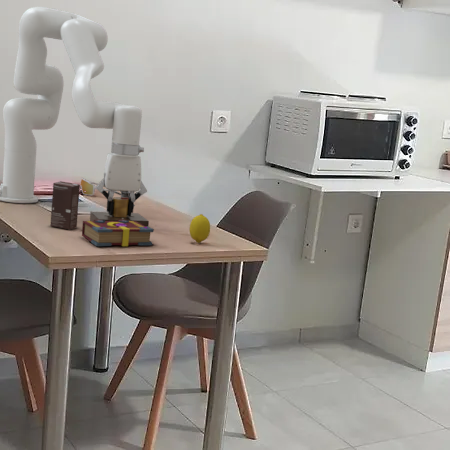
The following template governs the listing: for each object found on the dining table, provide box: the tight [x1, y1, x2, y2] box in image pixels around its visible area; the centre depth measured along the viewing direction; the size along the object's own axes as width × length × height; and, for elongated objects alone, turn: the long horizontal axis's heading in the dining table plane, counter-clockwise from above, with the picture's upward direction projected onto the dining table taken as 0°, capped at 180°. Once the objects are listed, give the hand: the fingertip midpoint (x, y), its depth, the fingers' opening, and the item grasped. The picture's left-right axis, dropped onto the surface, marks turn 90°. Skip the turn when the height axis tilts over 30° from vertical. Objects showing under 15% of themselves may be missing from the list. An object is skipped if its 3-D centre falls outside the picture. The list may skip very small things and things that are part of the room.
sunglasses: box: [79, 177, 121, 197], centre depth 264 cm, size 14×15×5 cm
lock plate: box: [89, 211, 150, 227], centre depth 211 cm, size 14×11×3 cm
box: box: [50, 181, 81, 230], centre depth 201 cm, size 6×4×12 cm
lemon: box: [188, 213, 211, 244], centre depth 200 cm, size 6×6×8 cm
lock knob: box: [112, 196, 129, 218], centre depth 210 cm, size 4×4×5 cm
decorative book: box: [81, 220, 154, 247], centre depth 192 cm, size 11×16×5 cm
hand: (119, 214), depth 211 cm, fingers closed on lock knob, 4 cm apart
